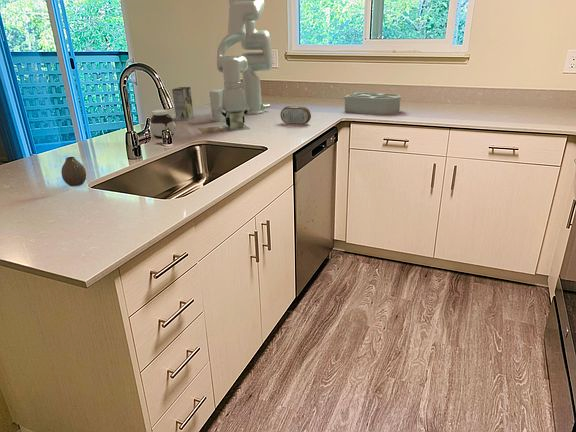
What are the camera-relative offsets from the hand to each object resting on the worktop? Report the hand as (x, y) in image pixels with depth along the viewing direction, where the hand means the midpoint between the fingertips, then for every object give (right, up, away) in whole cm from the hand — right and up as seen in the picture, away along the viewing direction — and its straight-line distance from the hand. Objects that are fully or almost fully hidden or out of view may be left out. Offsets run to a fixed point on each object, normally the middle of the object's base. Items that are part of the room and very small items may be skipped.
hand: (235, 124), depth 207 cm
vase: (-42, -34, -68) cm, 87 cm away
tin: (+29, +1, +6) cm, 29 cm away
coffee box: (-30, +8, +26) cm, 41 cm away
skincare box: (-9, +6, +19) cm, 22 cm away
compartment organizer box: (+72, +13, +31) cm, 79 cm away
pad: (-11, -4, -3) cm, 12 cm away
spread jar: (-31, -7, -9) cm, 33 cm away
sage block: (0, -1, +1) cm, 1 cm away
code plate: (0, -2, +1) cm, 2 cm away
